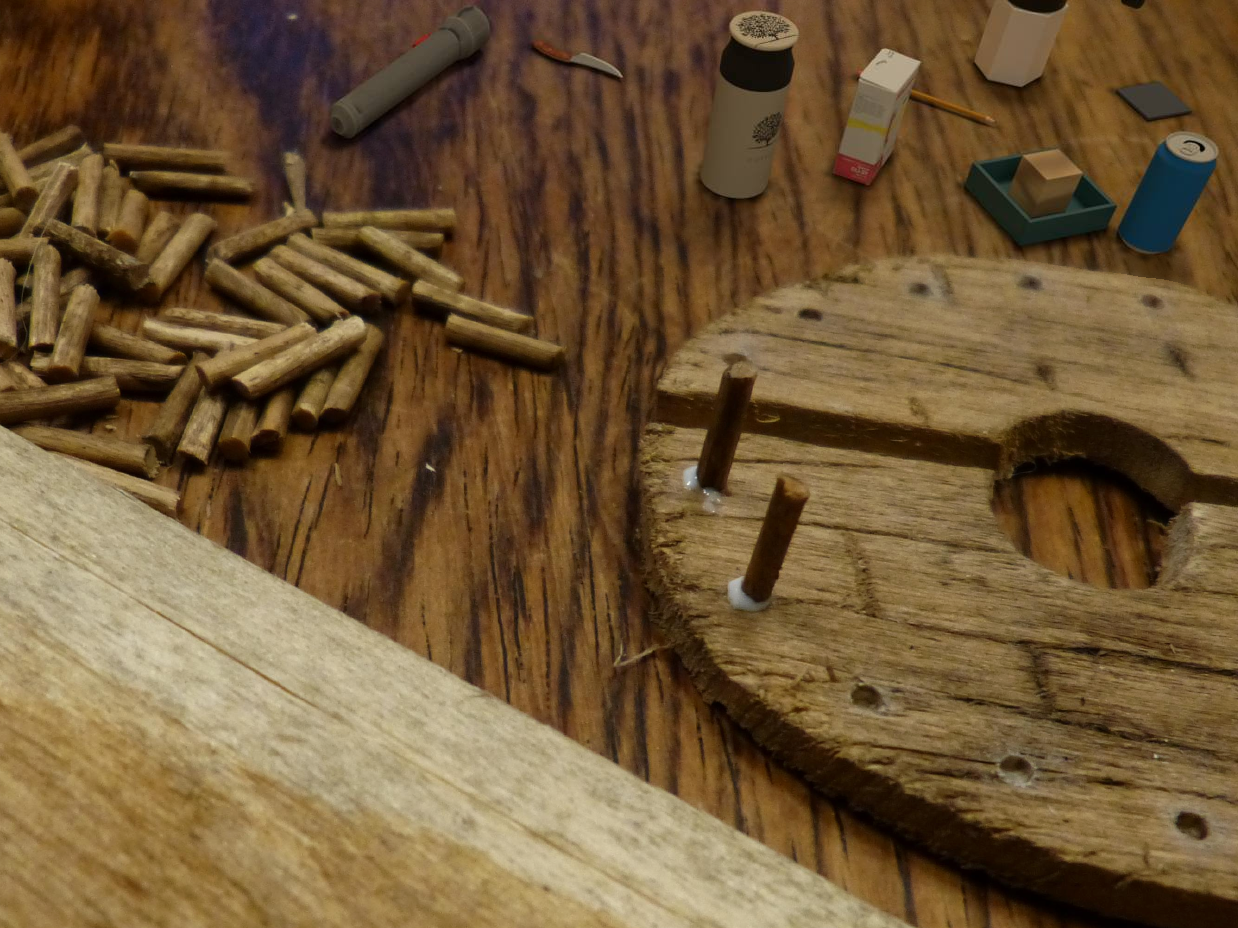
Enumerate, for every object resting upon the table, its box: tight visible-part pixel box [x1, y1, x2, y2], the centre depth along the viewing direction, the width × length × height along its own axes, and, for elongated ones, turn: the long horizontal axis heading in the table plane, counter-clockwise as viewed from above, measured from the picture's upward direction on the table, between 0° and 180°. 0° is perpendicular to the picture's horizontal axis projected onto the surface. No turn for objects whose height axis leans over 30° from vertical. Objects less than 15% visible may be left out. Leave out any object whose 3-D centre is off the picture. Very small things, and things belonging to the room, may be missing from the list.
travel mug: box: [700, 10, 800, 199], centre depth 142 cm, size 8×8×18 cm
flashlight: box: [328, 5, 491, 139], centre depth 154 cm, size 5×28×5 cm
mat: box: [1115, 81, 1193, 121], centre depth 166 cm, size 7×7×1 cm
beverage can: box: [1117, 131, 1219, 255], centre depth 143 cm, size 6×6×12 cm
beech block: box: [1007, 149, 1083, 218], centre depth 148 cm, size 5×5×5 cm
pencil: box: [857, 70, 998, 123], centre depth 162 cm, size 19×1×1 cm, turn 60°
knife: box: [532, 39, 624, 79], centre depth 162 cm, size 13×1×3 cm
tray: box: [963, 146, 1118, 247], centre depth 149 cm, size 12×12×3 cm
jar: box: [973, 0, 1069, 88], centre depth 163 cm, size 9×8×12 cm
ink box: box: [832, 48, 922, 186], centre depth 149 cm, size 9×5×12 cm, turn 151°
